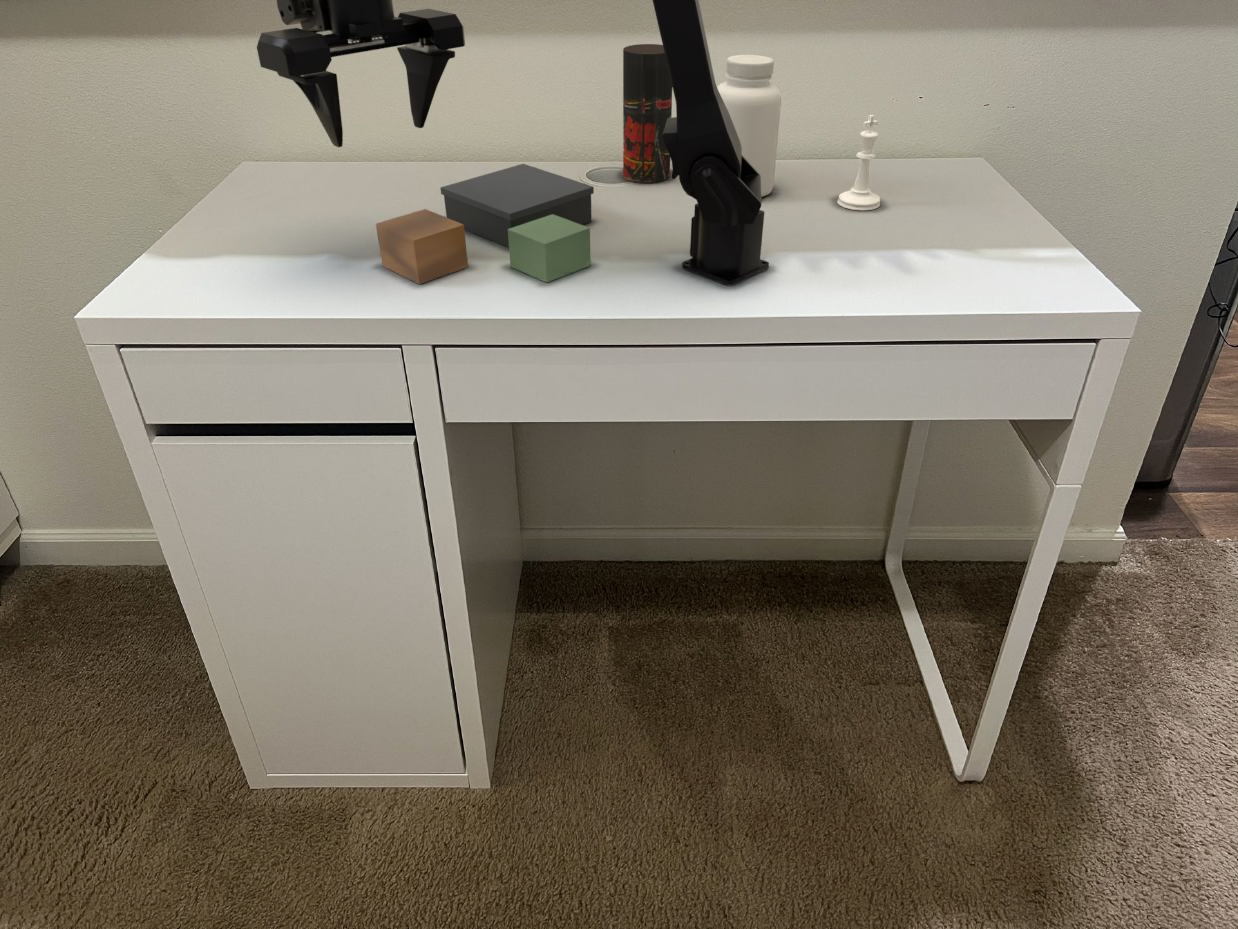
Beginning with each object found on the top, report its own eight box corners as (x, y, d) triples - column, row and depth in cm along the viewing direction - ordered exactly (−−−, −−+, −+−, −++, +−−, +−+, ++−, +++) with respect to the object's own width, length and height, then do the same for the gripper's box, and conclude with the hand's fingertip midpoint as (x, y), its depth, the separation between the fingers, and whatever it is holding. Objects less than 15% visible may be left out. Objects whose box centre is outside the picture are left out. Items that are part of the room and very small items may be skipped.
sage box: (591, 265, 93) (590, 227, 91) (546, 283, 90) (544, 243, 88) (554, 251, 97) (552, 213, 94) (510, 267, 93) (507, 229, 91)
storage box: (594, 221, 104) (593, 186, 101) (512, 250, 97) (509, 213, 94) (525, 196, 111) (523, 163, 108) (444, 222, 104) (440, 187, 101)
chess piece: (888, 207, 107) (903, 118, 102) (852, 213, 106) (865, 123, 100) (864, 194, 111) (877, 108, 105) (829, 199, 110) (840, 112, 104)
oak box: (468, 267, 93) (464, 224, 91) (419, 284, 90) (413, 240, 87) (430, 250, 97) (425, 208, 94) (382, 266, 93) (375, 223, 91)
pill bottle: (771, 180, 115) (783, 52, 107) (774, 202, 109) (787, 67, 100) (708, 178, 116) (715, 50, 107) (707, 200, 110) (714, 65, 101)
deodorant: (617, 171, 119) (616, 45, 110) (660, 166, 120) (663, 42, 112) (631, 185, 114) (632, 55, 105) (676, 180, 116) (680, 52, 107)
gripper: (391, -61, 90) (411, 104, 99) (208, -45, 80) (250, 139, 89) (460, -53, 84) (475, 124, 93) (271, -33, 73) (309, 164, 82)
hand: (379, 136), depth 89 cm, fingers open, 9 cm apart
